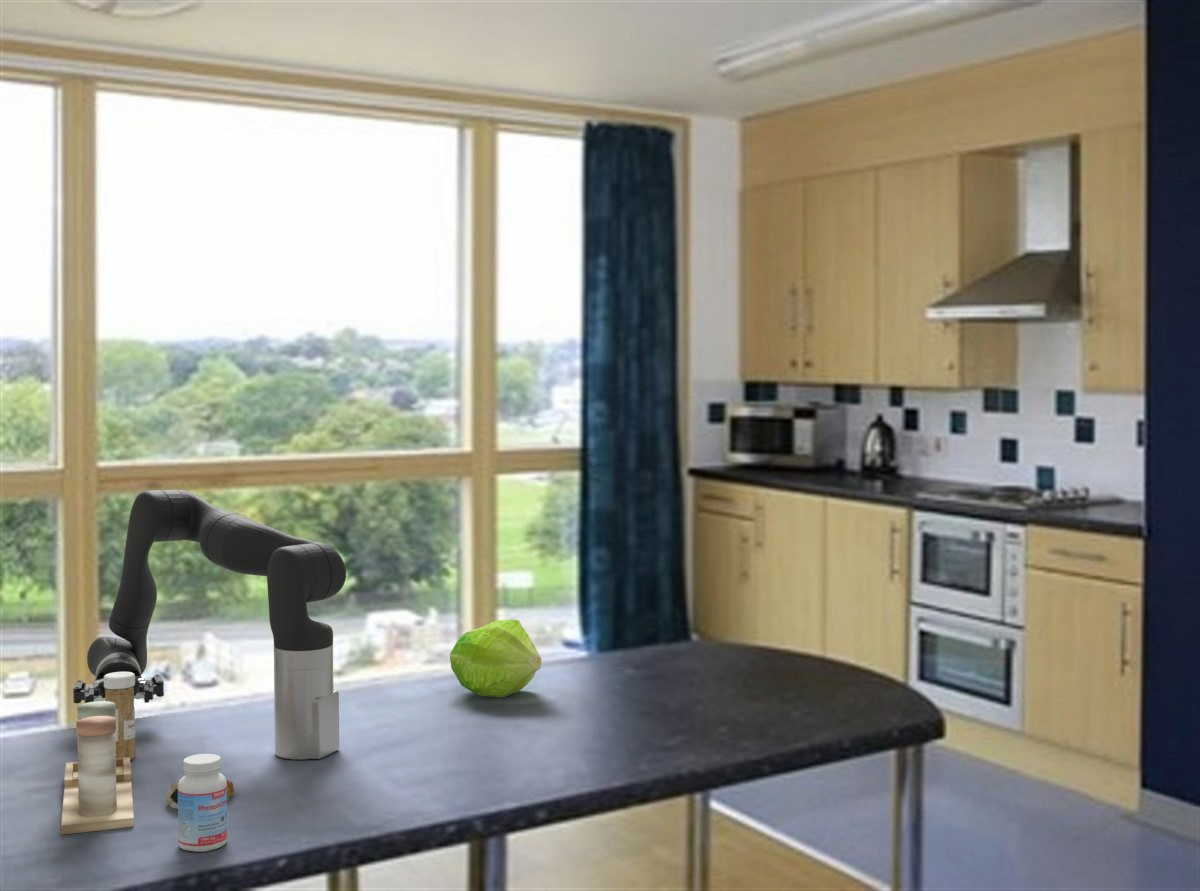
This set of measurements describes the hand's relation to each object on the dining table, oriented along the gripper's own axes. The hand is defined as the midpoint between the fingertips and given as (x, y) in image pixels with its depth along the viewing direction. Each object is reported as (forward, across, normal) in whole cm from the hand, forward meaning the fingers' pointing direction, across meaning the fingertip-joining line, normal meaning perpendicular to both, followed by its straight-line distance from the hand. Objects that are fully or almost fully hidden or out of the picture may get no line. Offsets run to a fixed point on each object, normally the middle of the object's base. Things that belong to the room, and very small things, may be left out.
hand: (119, 698), depth 217 cm
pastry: (+36, +10, +8) cm, 38 cm away
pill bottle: (+54, +10, +7) cm, 55 cm away
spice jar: (+10, 0, +7) cm, 13 cm away
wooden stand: (+31, -3, +7) cm, 32 cm away
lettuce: (-8, +66, +7) cm, 67 cm away
